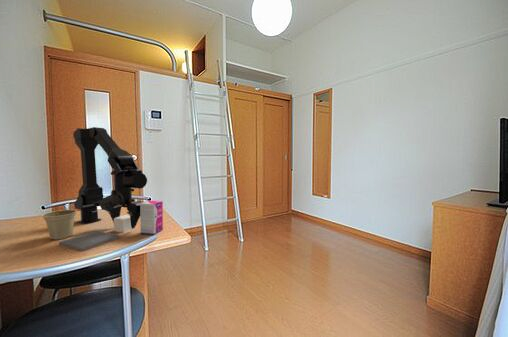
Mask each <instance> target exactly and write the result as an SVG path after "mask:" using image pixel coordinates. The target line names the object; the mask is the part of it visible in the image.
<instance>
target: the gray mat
mask: <svg viewBox="0 0 508 337" xmlns="http://www.w3.org/2000/svg"><path fill="white" fill-rule="evenodd" d="M119 238H120V235H119V234H116V233H115V234H114V233H109V232H105V231H98V230H93V231H90V232H88V233H84V234H81V235H78V236H75V237H71V238H68V239H65V240H64V239H63V240H62V241H58V246H59V247H60V246H61V247H65V248H70V249H73V250H76V251H80V252H84V251H87V250H90V249H92V248H95V247H98V246H102V245H105V244H106V243H109V242H113V241H115V240H118V239H119Z"/></svg>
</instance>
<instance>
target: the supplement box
mask: <svg viewBox="0 0 508 337" xmlns="http://www.w3.org/2000/svg"><path fill="white" fill-rule="evenodd" d="M163 202H164V201H162V200H146V201H143V203H140V218H139V220H140V221H139V222H140V235H149V236H155V235H157V234H159V233H160V232H162V231H163V230H164V226H163V225H164V222H163V221H164V219H163V218H164V217H163V216H164V214H163V213H164V210H163V209H164V208H163Z"/></svg>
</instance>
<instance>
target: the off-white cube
mask: <svg viewBox="0 0 508 337" xmlns="http://www.w3.org/2000/svg"><path fill="white" fill-rule="evenodd" d="M135 229H136V227H135V228H133V229H132V227H131V221H130V215H129V214H128V215H127V214H125V215H120V217H116V218H114V223H113V230H114V231H113V232H118V233H126V232H129V231H133V230H135Z"/></svg>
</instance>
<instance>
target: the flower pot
mask: <svg viewBox="0 0 508 337" xmlns="http://www.w3.org/2000/svg"><path fill="white" fill-rule="evenodd" d="M77 212H78V210H77V209H61V210H54V211H53V210H52V211H50V212H46V213H44V214H42V215H41V217H43V219H44V221H45V223H46V228H47V230H48V234H49V239H50V240H57V241H58V240H62V239H63V240H64V239H66V238H68V237H72V236H73V235H74V224H75V218H76V213H77Z"/></svg>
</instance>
